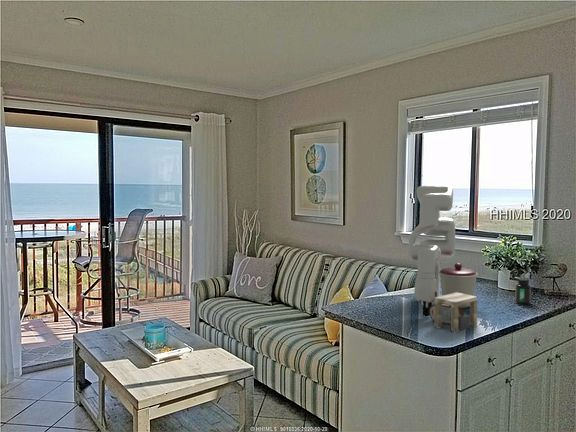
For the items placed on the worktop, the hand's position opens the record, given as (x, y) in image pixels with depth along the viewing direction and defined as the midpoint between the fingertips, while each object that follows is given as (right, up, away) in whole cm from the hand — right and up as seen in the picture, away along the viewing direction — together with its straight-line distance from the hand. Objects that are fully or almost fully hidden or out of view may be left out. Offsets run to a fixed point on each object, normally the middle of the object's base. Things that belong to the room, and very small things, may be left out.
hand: (426, 315), depth 202 cm
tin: (+6, -2, -8) cm, 10 cm away
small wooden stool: (+9, -2, -12) cm, 15 cm away
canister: (+22, 0, +20) cm, 29 cm away
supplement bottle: (+55, +1, +22) cm, 59 cm away
